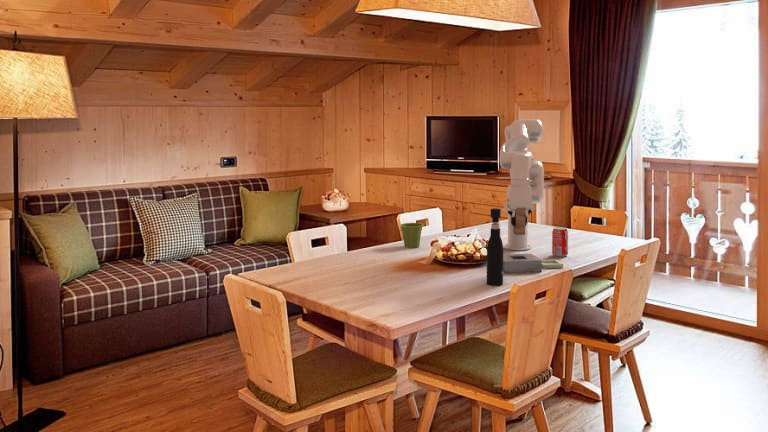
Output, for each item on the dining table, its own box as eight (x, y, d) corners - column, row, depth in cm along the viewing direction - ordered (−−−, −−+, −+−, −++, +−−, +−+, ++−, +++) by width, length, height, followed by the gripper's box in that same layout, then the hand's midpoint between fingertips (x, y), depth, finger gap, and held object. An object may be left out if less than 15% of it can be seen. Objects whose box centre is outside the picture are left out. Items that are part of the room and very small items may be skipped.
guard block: (495, 266, 329) (495, 254, 329) (531, 264, 331) (531, 253, 331) (504, 273, 316) (504, 261, 315) (541, 271, 318) (541, 260, 317)
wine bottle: (485, 282, 301) (485, 208, 296) (500, 282, 301) (501, 207, 297) (488, 286, 295) (489, 210, 290) (504, 285, 295) (505, 210, 290)
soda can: (568, 257, 345) (568, 229, 343) (551, 257, 347) (552, 229, 345) (567, 254, 352) (568, 226, 350) (551, 253, 354) (552, 226, 352)
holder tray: (536, 264, 332) (536, 260, 332) (555, 263, 333) (556, 259, 333) (543, 268, 323) (543, 264, 323) (563, 267, 325) (563, 263, 324)
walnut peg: (513, 233, 323) (513, 196, 320) (522, 233, 324) (522, 196, 321) (515, 235, 319) (516, 197, 317) (525, 234, 320) (525, 197, 317)
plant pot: (411, 243, 382) (411, 221, 380) (428, 246, 374) (428, 224, 372) (394, 247, 374) (394, 224, 372) (411, 250, 366) (411, 227, 364)
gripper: (536, 181, 323) (535, 223, 326) (498, 182, 321) (497, 224, 324) (542, 183, 315) (541, 226, 318) (503, 184, 313) (502, 227, 316)
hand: (519, 225), depth 321 cm, fingers closed on walnut peg, 4 cm apart
